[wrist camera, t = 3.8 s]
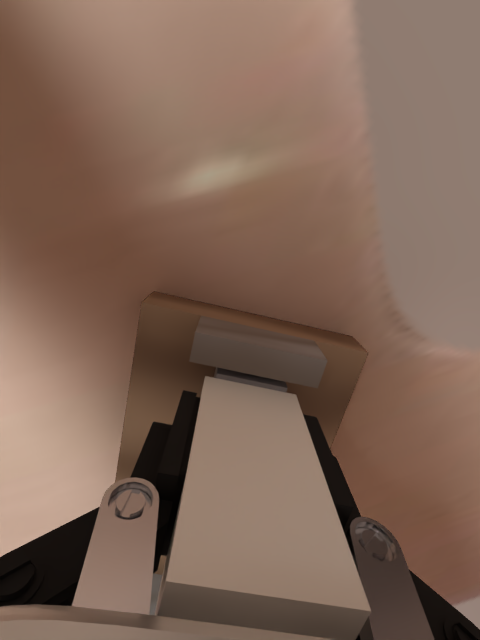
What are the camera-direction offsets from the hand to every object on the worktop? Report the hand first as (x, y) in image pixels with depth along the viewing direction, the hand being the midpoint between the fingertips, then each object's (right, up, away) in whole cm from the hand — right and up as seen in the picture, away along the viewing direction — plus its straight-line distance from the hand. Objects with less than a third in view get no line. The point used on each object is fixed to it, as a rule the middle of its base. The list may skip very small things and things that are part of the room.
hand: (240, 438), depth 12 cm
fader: (0, +1, +2) cm, 2 cm away
